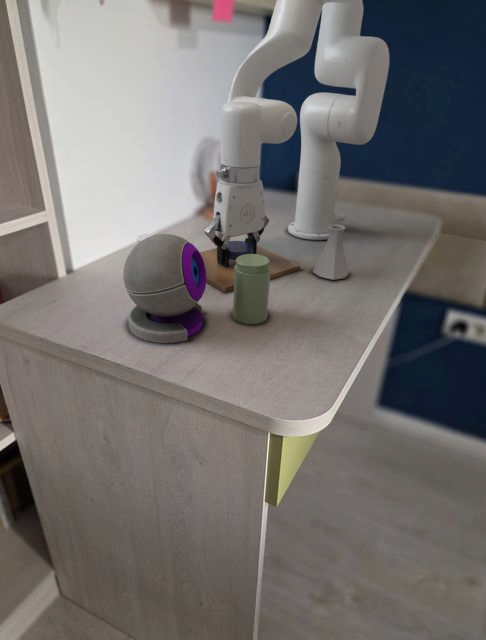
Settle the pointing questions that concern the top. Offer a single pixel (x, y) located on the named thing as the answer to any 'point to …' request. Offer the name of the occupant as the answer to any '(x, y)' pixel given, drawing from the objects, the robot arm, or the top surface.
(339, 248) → the flask
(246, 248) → the lid
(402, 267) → the top surface
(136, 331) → the webcam
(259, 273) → the jar
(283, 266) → the mat
